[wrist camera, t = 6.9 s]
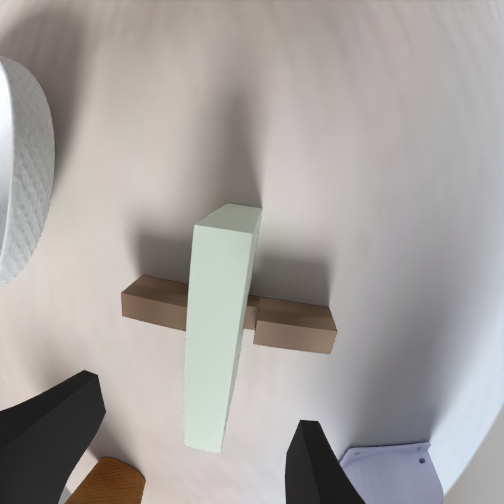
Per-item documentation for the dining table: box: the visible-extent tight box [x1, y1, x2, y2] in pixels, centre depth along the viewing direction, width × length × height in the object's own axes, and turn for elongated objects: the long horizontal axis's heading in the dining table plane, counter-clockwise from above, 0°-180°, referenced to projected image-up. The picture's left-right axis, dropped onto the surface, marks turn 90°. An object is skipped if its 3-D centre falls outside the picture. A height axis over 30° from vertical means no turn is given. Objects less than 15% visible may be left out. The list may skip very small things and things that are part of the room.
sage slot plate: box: [184, 203, 262, 453], centre depth 15 cm, size 12×2×7 cm, turn 172°
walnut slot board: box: [121, 275, 337, 354], centre depth 17 cm, size 12×2×3 cm, turn 82°
